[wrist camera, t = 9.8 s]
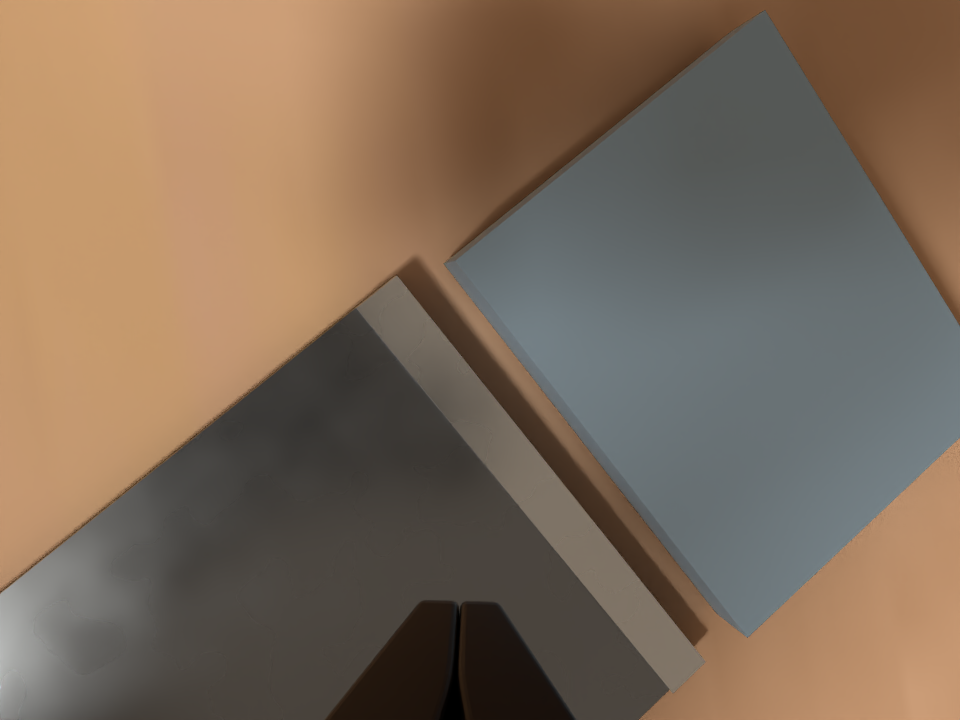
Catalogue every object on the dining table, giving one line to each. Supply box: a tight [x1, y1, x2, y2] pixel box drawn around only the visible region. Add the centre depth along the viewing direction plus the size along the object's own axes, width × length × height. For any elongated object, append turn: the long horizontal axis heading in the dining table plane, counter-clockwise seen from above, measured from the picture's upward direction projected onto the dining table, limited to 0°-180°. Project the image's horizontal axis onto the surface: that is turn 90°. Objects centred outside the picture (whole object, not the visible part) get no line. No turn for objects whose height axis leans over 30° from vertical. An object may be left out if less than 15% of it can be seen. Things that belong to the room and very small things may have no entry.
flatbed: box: [0, 275, 705, 720], centre depth 18 cm, size 13×13×1 cm
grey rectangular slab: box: [444, 10, 960, 638], centre depth 19 cm, size 2×12×10 cm
